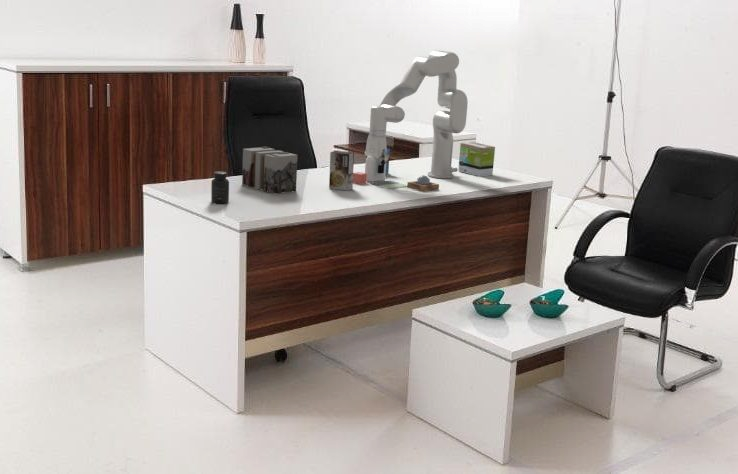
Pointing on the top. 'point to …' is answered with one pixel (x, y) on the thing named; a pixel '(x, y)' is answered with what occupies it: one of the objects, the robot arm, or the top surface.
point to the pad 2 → (394, 185)
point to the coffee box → (341, 170)
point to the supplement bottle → (220, 188)
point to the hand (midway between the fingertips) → (375, 171)
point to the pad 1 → (383, 182)
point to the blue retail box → (387, 162)
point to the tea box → (476, 159)
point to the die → (359, 178)
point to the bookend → (269, 170)
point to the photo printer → (373, 170)
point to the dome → (423, 180)
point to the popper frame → (423, 186)
